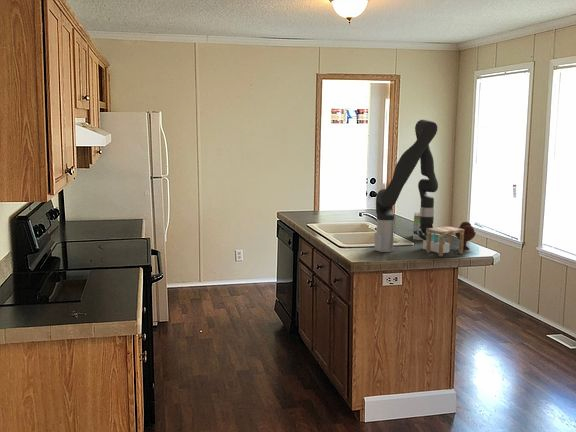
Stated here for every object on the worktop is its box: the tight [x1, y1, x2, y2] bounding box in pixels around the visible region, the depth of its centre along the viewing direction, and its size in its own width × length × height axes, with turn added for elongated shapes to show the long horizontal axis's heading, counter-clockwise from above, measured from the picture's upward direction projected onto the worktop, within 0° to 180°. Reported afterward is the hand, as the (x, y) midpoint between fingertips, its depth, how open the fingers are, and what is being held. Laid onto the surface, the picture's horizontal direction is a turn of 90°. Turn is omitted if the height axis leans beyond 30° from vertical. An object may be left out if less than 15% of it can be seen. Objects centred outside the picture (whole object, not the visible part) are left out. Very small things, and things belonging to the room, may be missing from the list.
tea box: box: [412, 211, 425, 241], centre depth 367 cm, size 15×10×15 cm, turn 168°
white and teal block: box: [422, 233, 451, 254], centre depth 331 cm, size 6×14×9 cm, turn 30°
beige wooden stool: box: [425, 225, 464, 257], centre depth 324 cm, size 16×11×13 cm
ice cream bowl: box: [454, 221, 476, 251], centre depth 336 cm, size 11×11×15 cm
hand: (425, 246), depth 338 cm, fingers closed
